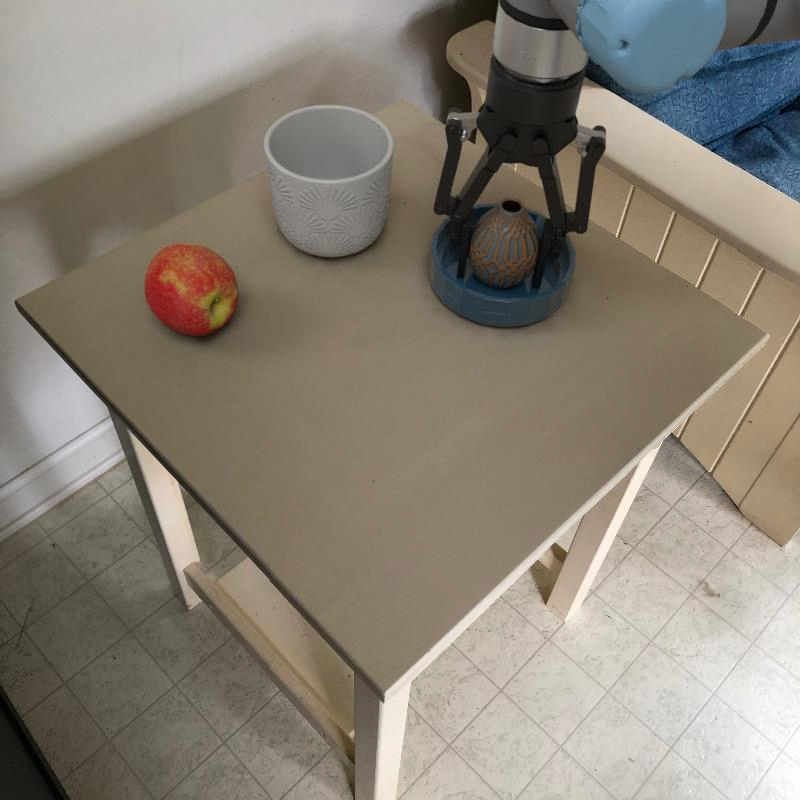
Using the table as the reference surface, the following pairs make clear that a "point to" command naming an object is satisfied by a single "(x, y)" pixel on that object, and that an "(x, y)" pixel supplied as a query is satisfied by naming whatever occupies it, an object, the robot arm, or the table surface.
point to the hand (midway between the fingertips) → (499, 272)
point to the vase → (504, 245)
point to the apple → (191, 289)
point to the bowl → (498, 303)
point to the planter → (329, 178)
